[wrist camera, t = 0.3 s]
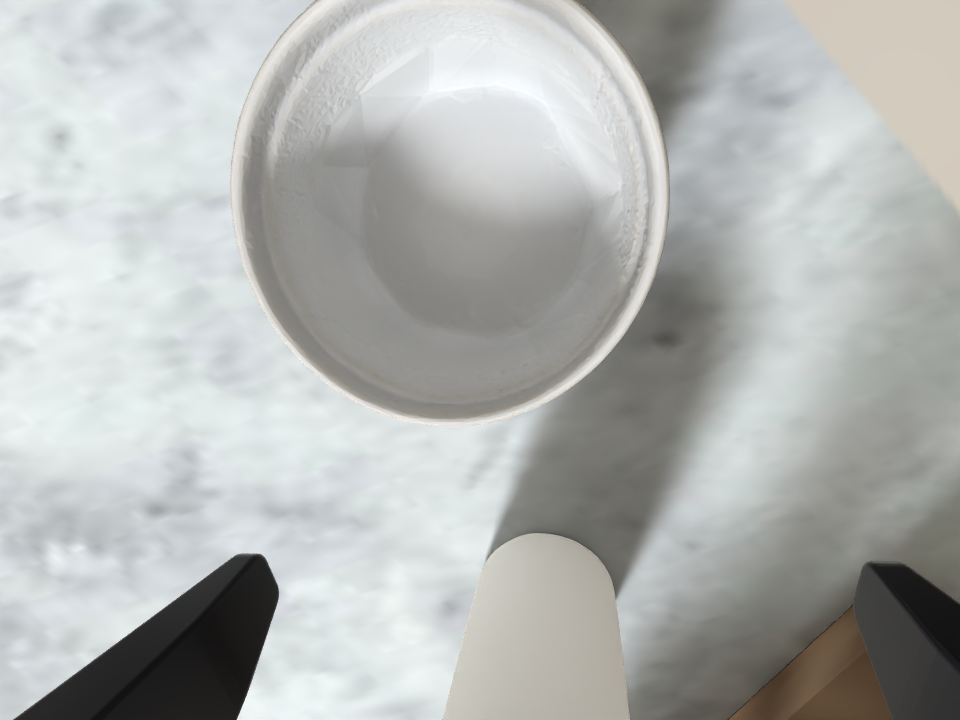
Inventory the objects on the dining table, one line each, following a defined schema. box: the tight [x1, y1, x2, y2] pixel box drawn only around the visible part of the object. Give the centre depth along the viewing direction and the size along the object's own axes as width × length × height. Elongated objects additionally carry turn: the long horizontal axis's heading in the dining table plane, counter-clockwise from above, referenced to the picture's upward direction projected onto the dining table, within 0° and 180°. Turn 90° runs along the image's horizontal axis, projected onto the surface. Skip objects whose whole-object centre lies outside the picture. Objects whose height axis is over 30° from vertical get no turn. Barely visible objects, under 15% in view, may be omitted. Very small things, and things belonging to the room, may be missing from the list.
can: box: [442, 533, 630, 720], centre depth 20 cm, size 6×6×12 cm
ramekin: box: [230, 0, 670, 426], centre depth 19 cm, size 13×13×7 cm
